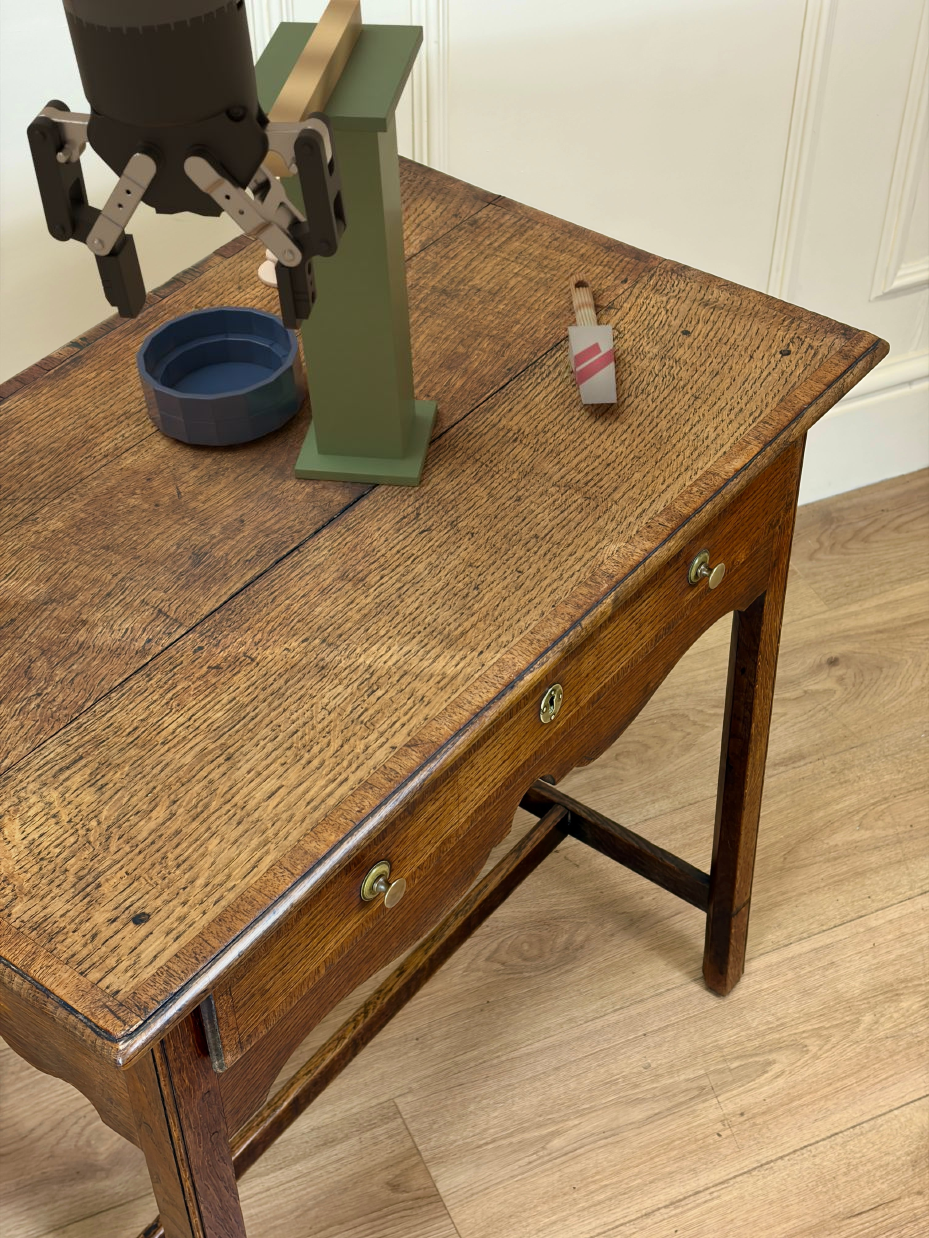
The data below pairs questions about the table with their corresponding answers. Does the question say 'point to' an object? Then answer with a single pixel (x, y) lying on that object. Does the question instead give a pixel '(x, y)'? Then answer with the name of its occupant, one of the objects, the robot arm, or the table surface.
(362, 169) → the stand
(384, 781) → the table surface
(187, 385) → the bowl
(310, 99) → the stick
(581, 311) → the paintbrush
